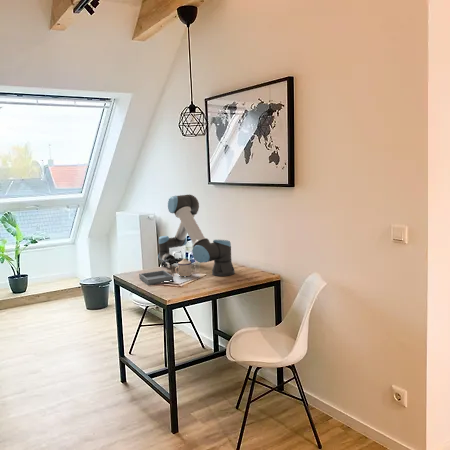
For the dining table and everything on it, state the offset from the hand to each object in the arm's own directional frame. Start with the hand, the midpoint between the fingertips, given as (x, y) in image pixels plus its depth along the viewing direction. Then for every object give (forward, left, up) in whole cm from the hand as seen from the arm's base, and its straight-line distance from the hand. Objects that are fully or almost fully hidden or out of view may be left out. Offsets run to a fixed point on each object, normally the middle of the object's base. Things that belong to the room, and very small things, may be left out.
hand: (178, 264), depth 325 cm
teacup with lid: (0, +8, -7) cm, 10 cm away
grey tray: (+19, +8, -7) cm, 22 cm away
